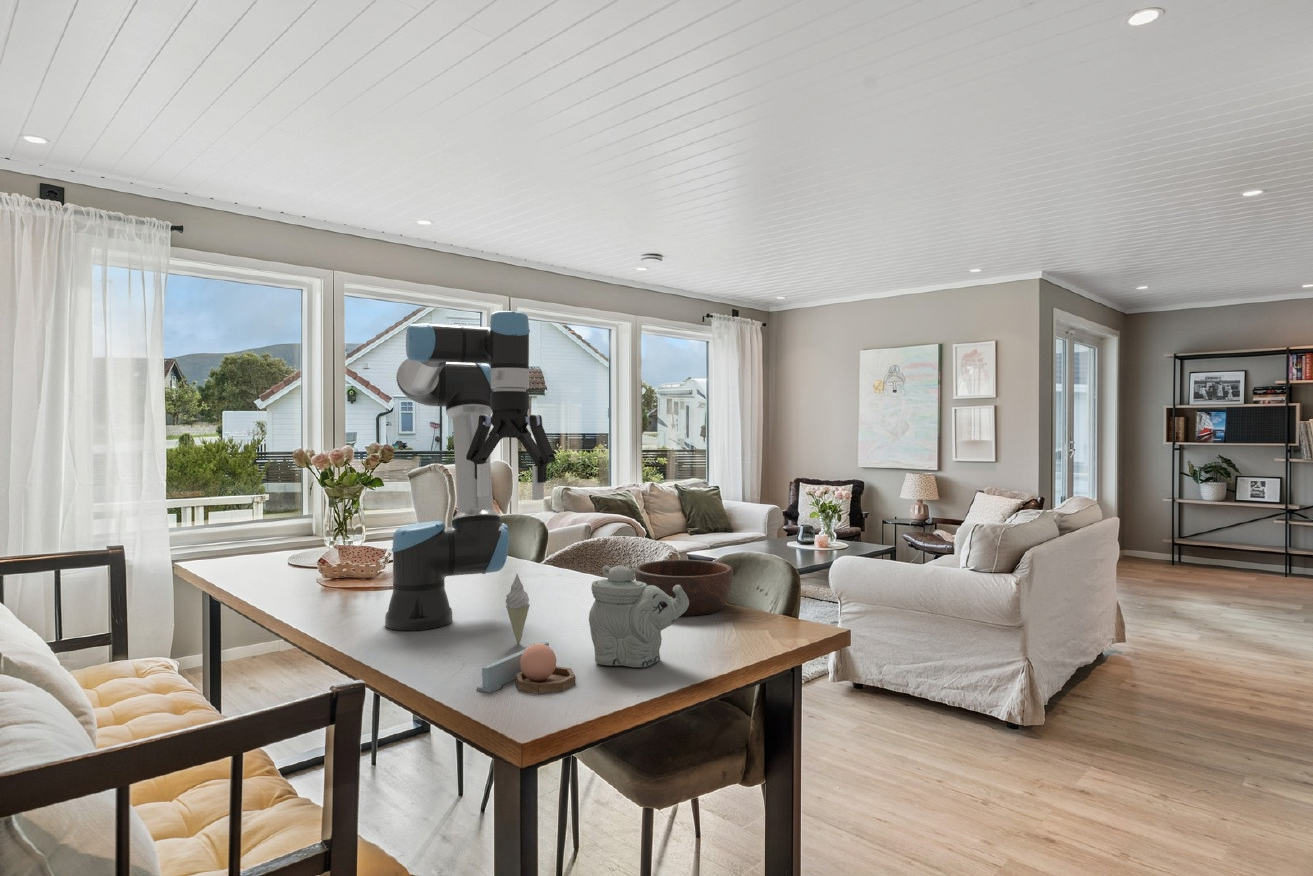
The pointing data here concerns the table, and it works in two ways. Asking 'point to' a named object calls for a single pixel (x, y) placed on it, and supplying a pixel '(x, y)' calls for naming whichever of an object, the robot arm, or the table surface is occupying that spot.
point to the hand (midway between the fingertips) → (510, 498)
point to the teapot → (631, 618)
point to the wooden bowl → (690, 582)
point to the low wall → (501, 672)
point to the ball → (538, 662)
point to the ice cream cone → (517, 607)
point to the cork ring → (548, 681)
